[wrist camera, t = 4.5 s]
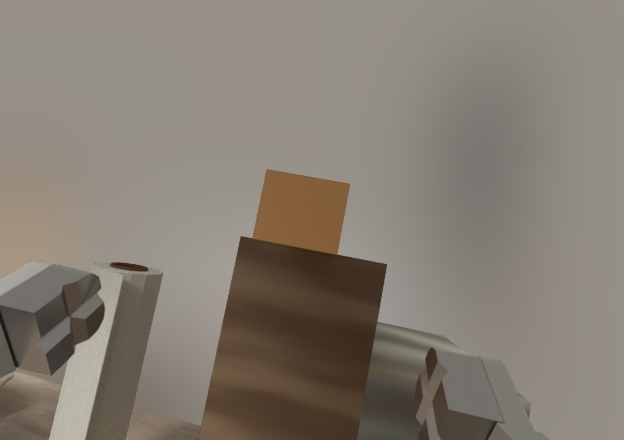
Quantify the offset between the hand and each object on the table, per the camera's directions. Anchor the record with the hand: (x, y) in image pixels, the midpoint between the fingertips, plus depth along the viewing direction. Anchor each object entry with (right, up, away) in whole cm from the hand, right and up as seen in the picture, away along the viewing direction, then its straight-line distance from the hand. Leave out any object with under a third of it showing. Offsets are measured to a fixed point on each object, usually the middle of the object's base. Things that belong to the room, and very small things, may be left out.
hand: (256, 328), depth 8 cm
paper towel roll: (-20, -23, +22) cm, 37 cm away
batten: (+2, 0, +16) cm, 16 cm away
